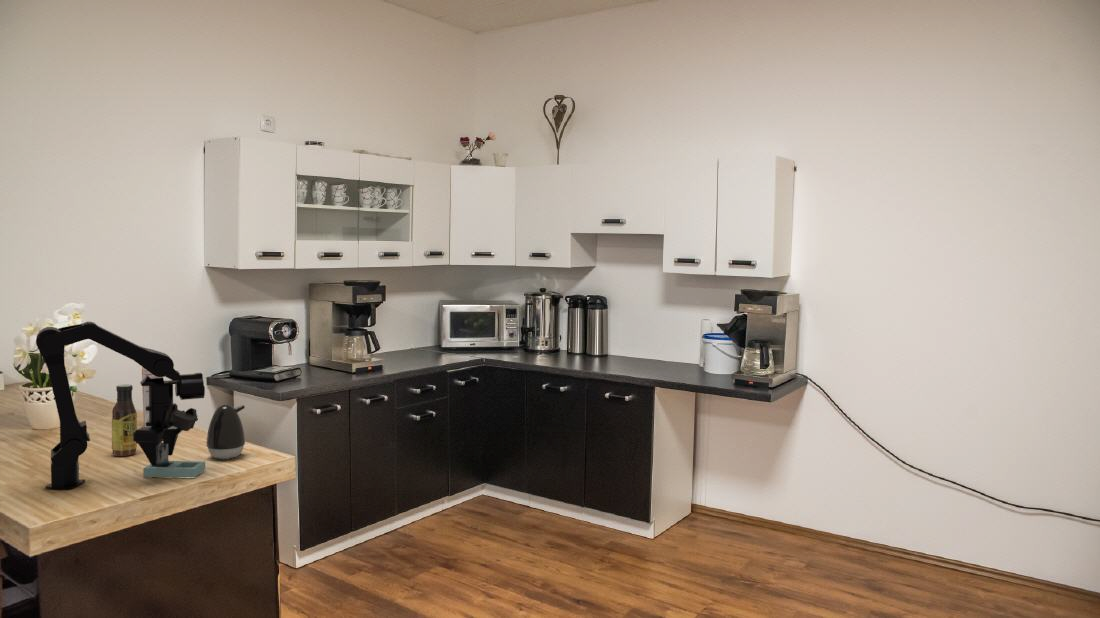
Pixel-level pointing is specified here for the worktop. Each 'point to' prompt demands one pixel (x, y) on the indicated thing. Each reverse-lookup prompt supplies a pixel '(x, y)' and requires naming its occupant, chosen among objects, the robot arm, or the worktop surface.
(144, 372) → the cracker box
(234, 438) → the pump dispenser
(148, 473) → the pegboard
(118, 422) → the sauce bottle
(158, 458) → the peg
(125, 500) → the worktop surface
